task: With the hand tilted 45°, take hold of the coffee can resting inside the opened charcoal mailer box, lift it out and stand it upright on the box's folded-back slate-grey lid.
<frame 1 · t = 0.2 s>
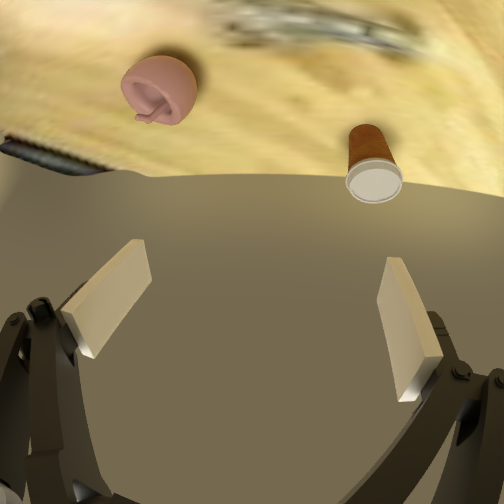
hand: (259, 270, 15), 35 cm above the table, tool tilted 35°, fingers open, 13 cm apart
mortar and pestle: (170, 73, 39), on the table
disposable coffee cup: (365, 136, 46), on the table
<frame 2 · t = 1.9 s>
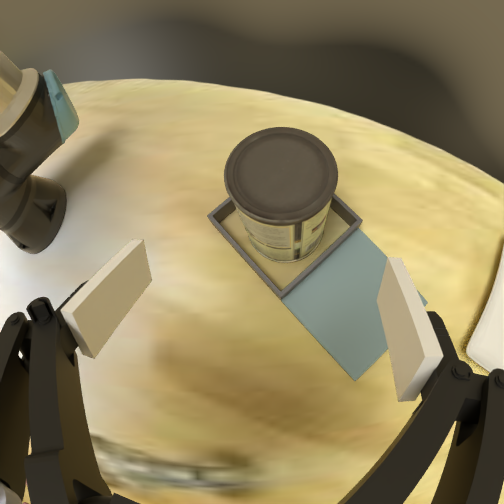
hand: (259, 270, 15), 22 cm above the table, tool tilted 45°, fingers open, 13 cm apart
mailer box: (284, 225, 38), on the table
coffee can: (284, 226, 39), resting in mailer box
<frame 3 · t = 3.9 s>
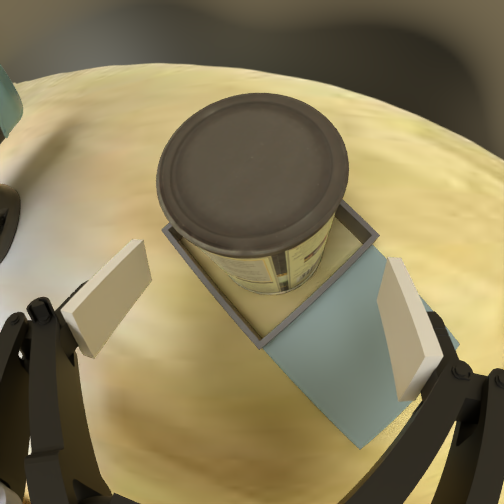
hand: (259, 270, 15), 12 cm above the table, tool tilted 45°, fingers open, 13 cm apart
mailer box: (269, 242, 28), on the table
coffee can: (269, 243, 28), resting in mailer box
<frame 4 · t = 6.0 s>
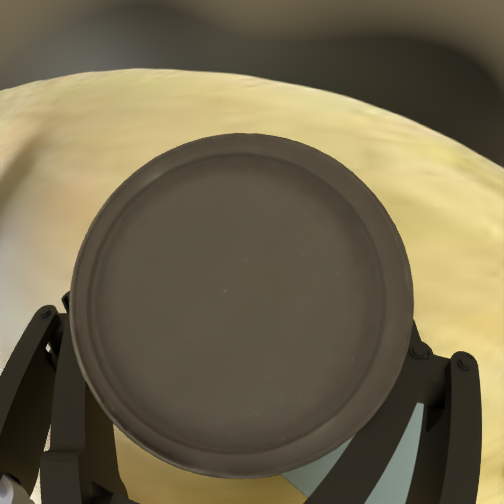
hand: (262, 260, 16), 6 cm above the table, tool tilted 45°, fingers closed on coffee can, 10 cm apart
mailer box: (265, 321, 21), on the table
coffee can: (265, 322, 21), resting in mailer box, touching gripper
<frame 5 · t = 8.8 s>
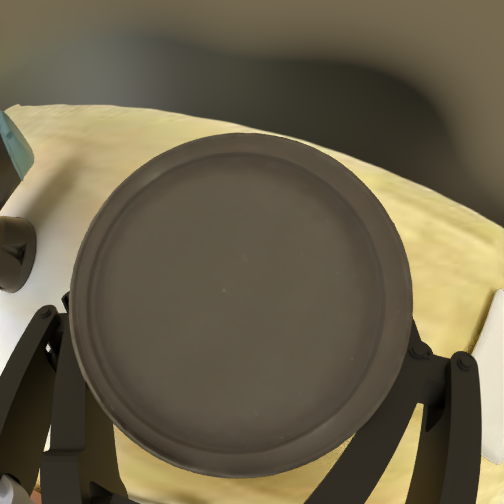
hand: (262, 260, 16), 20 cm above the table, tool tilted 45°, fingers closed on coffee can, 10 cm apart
coffee can: (265, 321, 21), point 14 cm above the table, touching gripper
salad plate: (496, 383, 27), on the table
when the fingers open (7 cm above the table, at t = 12.1 s): coffee can stays where it is, resting on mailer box.
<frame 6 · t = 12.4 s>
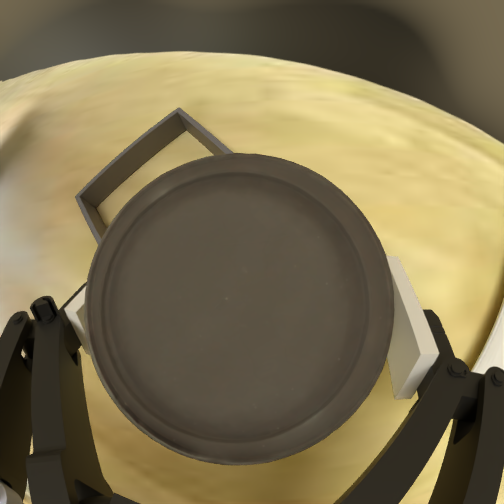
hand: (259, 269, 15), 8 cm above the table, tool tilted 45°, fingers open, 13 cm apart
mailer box: (168, 205, 26), on the table
coffee can: (264, 323, 22), resting on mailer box
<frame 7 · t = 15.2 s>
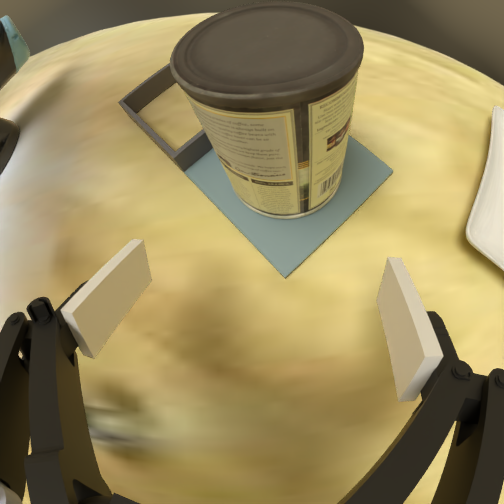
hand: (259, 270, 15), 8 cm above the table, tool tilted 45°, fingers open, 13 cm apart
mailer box: (200, 102, 30), on the table
coffee can: (284, 168, 25), resting on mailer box
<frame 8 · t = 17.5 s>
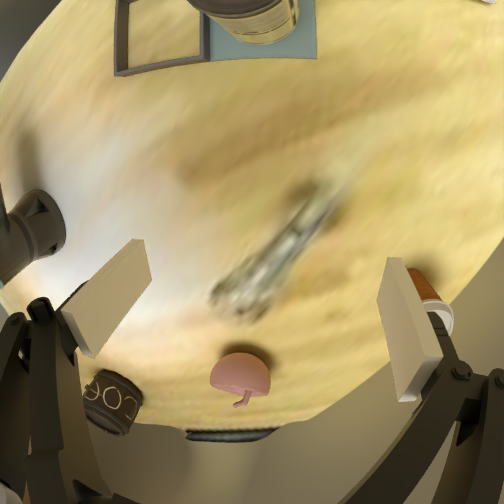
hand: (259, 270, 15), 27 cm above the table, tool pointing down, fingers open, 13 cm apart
coffee canister: (119, 384, 78), on the table
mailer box: (164, 26, 30), on the table
mortar and pestle: (246, 358, 58), on the table
coffee can: (260, 14, 28), resting on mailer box
disposable coffee cup: (406, 283, 43), on the table
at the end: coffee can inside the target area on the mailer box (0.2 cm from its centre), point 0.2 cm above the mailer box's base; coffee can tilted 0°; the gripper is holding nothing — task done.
